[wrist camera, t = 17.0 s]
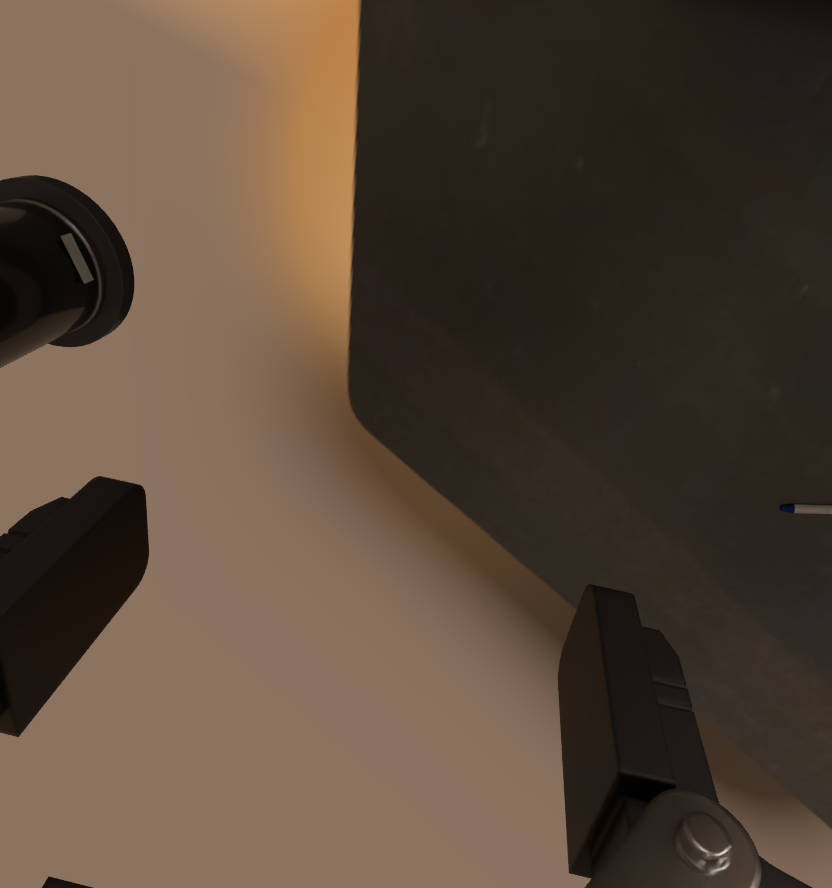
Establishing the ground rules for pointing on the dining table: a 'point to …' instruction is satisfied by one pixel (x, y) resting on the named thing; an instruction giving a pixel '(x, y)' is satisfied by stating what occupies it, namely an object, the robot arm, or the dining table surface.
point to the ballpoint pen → (807, 508)
